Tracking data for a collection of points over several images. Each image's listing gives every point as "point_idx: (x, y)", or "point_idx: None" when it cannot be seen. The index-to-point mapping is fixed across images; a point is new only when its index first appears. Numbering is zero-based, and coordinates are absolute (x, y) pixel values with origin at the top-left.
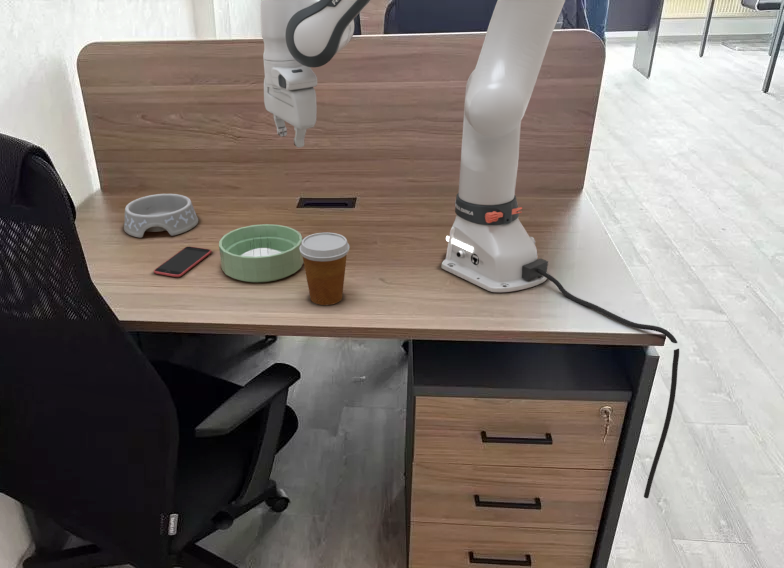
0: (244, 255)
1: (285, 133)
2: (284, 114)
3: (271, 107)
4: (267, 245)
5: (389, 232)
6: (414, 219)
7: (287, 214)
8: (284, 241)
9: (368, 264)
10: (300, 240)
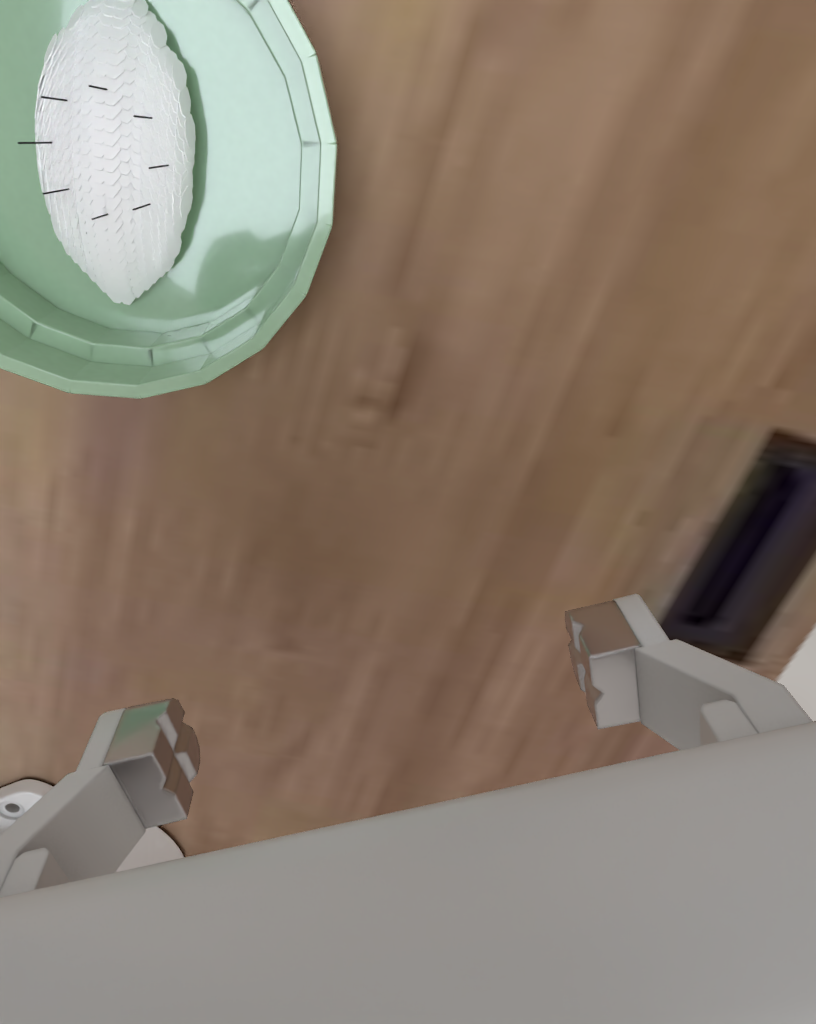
0: (95, 42)
1: (579, 672)
2: (182, 948)
3: (801, 811)
4: (48, 192)
5: (367, 702)
6: (454, 786)
7: (719, 376)
8: (247, 305)
9: (91, 591)
10: (54, 382)
